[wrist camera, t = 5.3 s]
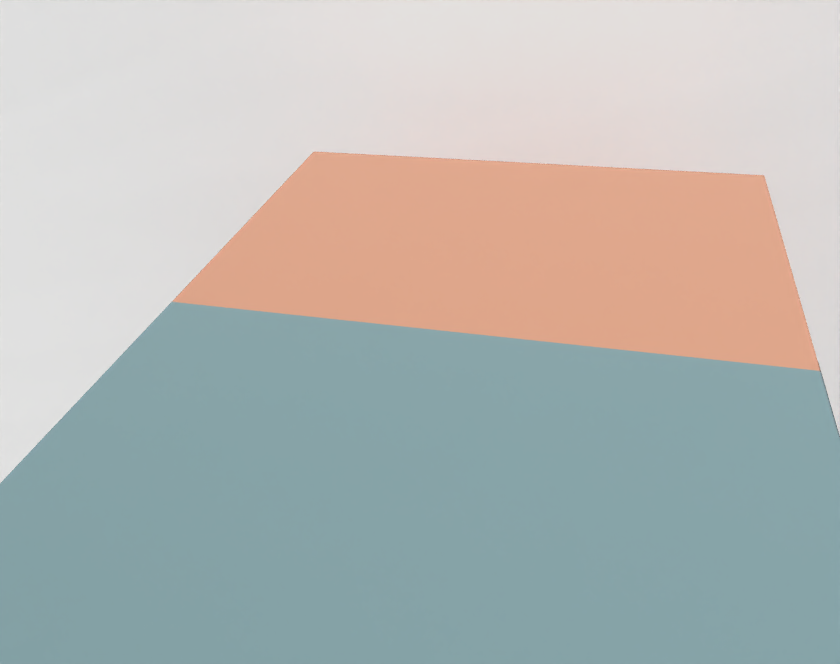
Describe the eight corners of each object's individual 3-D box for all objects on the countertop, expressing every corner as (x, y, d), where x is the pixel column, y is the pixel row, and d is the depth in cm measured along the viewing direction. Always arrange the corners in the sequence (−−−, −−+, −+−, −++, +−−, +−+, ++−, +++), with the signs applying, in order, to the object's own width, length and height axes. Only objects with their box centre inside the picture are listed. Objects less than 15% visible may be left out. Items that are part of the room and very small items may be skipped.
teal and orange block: (313, 151, 11) (-174, 666, 4) (764, 175, 9) (993, 974, 3) (354, 454, 14) (114, 984, 8) (687, 503, 13) (720, 1194, 6)
